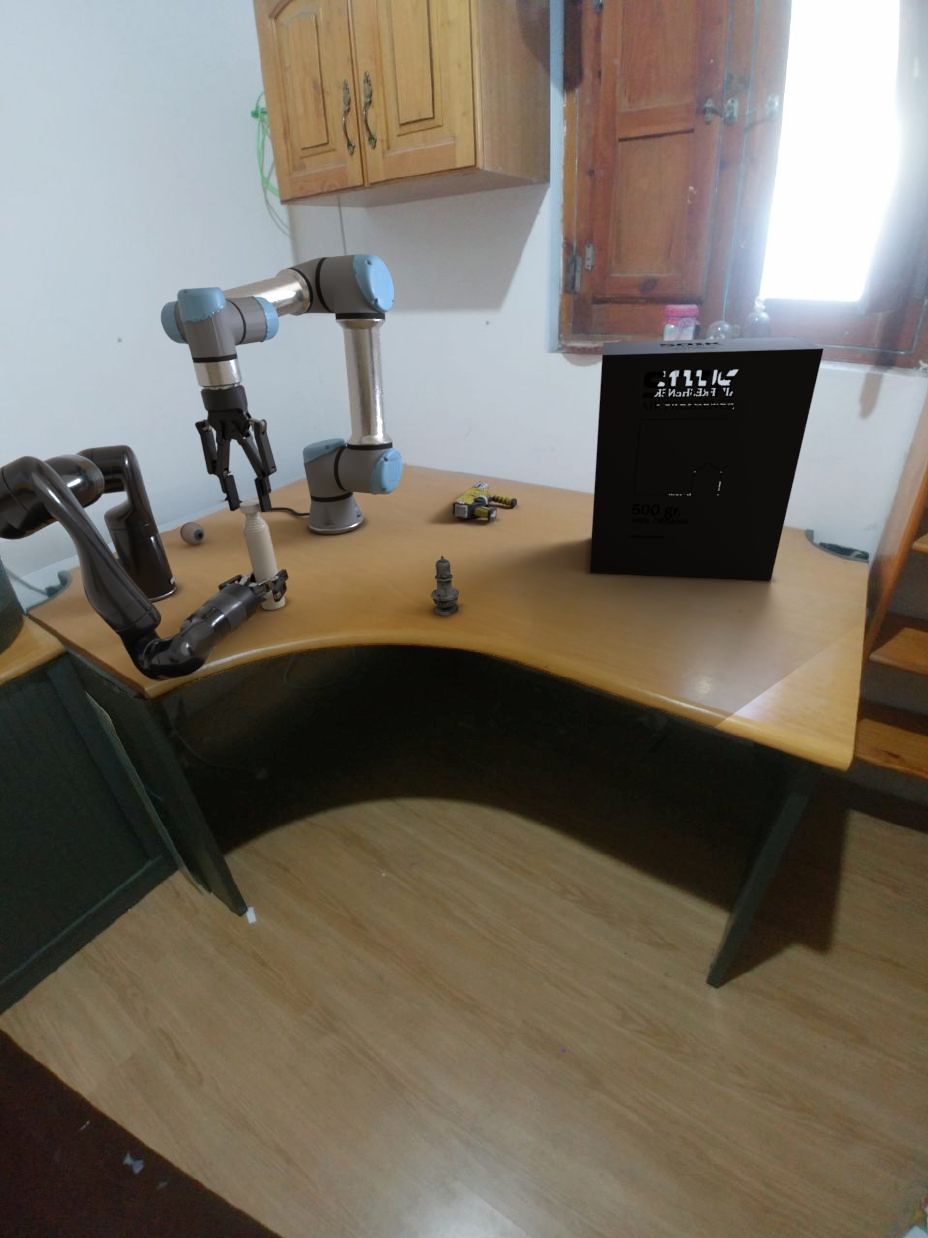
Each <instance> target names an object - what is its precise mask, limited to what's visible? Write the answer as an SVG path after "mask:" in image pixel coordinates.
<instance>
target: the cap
mask: <svg viewBox="0 0 928 1238" xmlns="http://www.w3.org/2000/svg"><path fill="white" fill-rule="evenodd" d="M239 509H240V512H241V513H242V514H244V515H245V514H249V513H255V512H258V511H259V512H260V511H261V508H260V503H259V499H249V500H244V501H242V503H240V508H239Z"/></svg>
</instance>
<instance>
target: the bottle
mask: <svg viewBox="0 0 928 1238" xmlns="http://www.w3.org/2000/svg"><path fill="white" fill-rule="evenodd" d="M244 515H245V518H244V523H243V526H242V533H243V536H244V539H245V544H246V548H247V553H248V555H249V561H250V564H251V568H252V572H254V576H255V580H256V583H257V582H259V581H261V580H263V579H270V578H272V577H274V576H275V575H276V574H277V573H278V572H280V570H279V567H278V563H277V558H276V554H275V550H274V544H273V541H272V537H271V536H272V535H271V532H270V531H271V530H270V527H269V525H268V522H266V520H265V519H264V518H263V516H261V514H260V511H258V512H255V513H249V514H245V513H244ZM271 585H272V587H273V586H275V585H274V582H273V583H272V584H271ZM264 586H265V584H264ZM265 589H266V588H265ZM286 602H287V601H286V598H285V595H284V596H283V597H282V599H281V600H280V601H279V602H274V599H267V600H266V601H264V602H262V603H260V605H261V607H262V609H263V610H268V611H274V610H278V609H280V608H282V607H284V606H285V605H286Z"/></svg>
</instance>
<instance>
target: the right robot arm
mask: <svg viewBox="0 0 928 1238" xmlns="http://www.w3.org/2000/svg"><path fill="white" fill-rule="evenodd" d="M176 296H177V297H176V298H177V299H176V300H174V301H168V302H167V303H165V305H163V307H162V308H161V312H160V322H161V325H162V329H163V331H164V334H166V336H167V337H168V338H169V339H170V340H171V341H172V342H175V343H177V344H181V345H182V344H183V345H184V344H185V345H188V349H189V352H190V356H191V359H192V360H191V361H192V364H193V368H194V372H195V376H196V377H195V378H196V381H197V384H198V386H199V387H200V388H201V390H200V395H201V399H202V404H203V407H204V410H205V411H206V412H207V416H206V419H205V418H203V419H202V420H199V421H195V423H194V426H195V428H196V430H197V432H198V435H199V438H200V443H201V448H202V452H203V458H204V462H205V468H206V472H207V474H208V475H214V476H216V477H217V478H218V481H219V485H220V488H221V491H222V493H223V494H225V498H224V501H227V504H228V508H229V511H230V512H235V511H236V510H239V509H241V508H240V503H242V502H243V500H241V499H240V496H239V492H238V488H237V483H236V480H235V476H234V474H231V473H232V471H231V470H230V459H231V458H230V456H231V442H232V440H233V441H236V442H237V444H238V445H239V446H241V449H242V450H243V453H244V454H245V456H246V458H247V460H248V462H249V464H250V466H251V467H252V470H253V472H254V474H255V475H256V477H255V478H254V479H253V481H254V485H255V490H256V494H257V500H258V501H259V503H260V508H261V510H260V511H261V513H266V512H268V511H286V512H291V513H292V514H293V515H295V516H297V517H308V521H307V522H308V523H307V524H308V528H309V529H308V530H310V531H311V532H312V533H314V534H317V535H323V536H324V535H325V536H327V535H329V536H331V535H339V534H340V535H341V534H345V533H350V532H353V531H355V530H357V529H359V528H361V527H362V526H363V525H364V523H365V519H364V514H363V512H362V508H361V505H359V504H358V501H357V500H356V498H355V495H354V493H360V494H371V495H374V496H377V495H389V494H391V493H392V492H394V491H395V490H396V489H397V487H398V486H399V483H400V481H401V479H402V475H403V469H404V461H403V456H402V455H401V452H400V451H399V450H398V449H396V448H394V446H393V438H391V437H390V436H389V434H387V426H386V412H385V394H384V379H383V364H382V361H383V360H382V347H381V345H382V344H381V331H380V330H381V327H383V325H384V324H385V323H386V313H388V312H389V311H390V310H392V308H393V306H394V301H395V289H394V283H393V279H392V275H391V272H390V270H389V269H388V268H387V266H386V264H385V262H384V261H383V259H381V258H380V257H379V256H377V255H376V254H367V253H366V254H364V253H363V254H362V253H356V254H347V255H336V256H335V255H334V256H323V257H322V256H321V257H317V258H312V259H310V260H307V261H304V262H301V263H298V264H296V265H292V266H290V267H286V268H283V269H281V270H279V271H278V272H277V273H276V275H275V276H274V277H270V278H267V279H262V280H259V281H254V282H251V283H247V284H243V285H240V286H237V287H233V288H228V289H225V290H222V288H220V287H218V286H213V287H212V286H211V287H194V288H181V289H179V290H178V292H177V294H176ZM305 314H334V315H335V316H334V317H335V322H336V324H338V325H339V326H340V327H341V329H342V331H343V332H342V333H343V345H344V357H345V369H346V379H347V380H346V381H347V392H348V393H347V394H348V404H349V415H350V417H349V418H350V428H351V430H350V431H351V434H350V436H349V437H348V438H347V439H345V438H341V437H340V438H339V437H337V438H330V439H329V438H328V439H323V440H320V441H317V442H313V443H309V444H308V445H306V446H305V447H304V448H303V450H302V457H303V458H302V460H303V467H304V472H305V477H306V482H307V486H308V492H309V498H310V507H309V512H297V511H295V510H294V509H293V508H290V507H284V506H281V507H280V506H278V507H277V506H275V507H274V506H272V502H271V497H270V494H271V493H272V487H271V481H270V476H271V475H273V474H275V473H276V472H277V471H278V468H277V464H276V462H275V458H274V454H273V449H272V447H271V443H270V439H269V436H268V432H267V431H268V422H267V420H266V419H264V418H262V419H257V418H254V417H252V415H251V414H250V412H249V408H248V406H249V402H248V398H247V394H246V393H247V392H246V389H245V386H244V385H242V384H241V383H242V382H243V376H242V372H241V367H240V366H241V365H240V363H239V356H238V352H237V346H243V345H249V344H254V343H264V342H265V341H269V340H272V339H274V338H275V336H276V335H277V333H278V332H279V328H280V319H279V318H281V317H283V316H287V315H291V316H295V317H298V316H302V315H305ZM250 428H251V430H250ZM213 430H214V431H213ZM214 432H215V434H214ZM252 432H253V435H252ZM254 440H255V441H254ZM255 443H256V444H255Z"/></svg>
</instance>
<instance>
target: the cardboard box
mask: <svg viewBox="0 0 928 1238" xmlns="http://www.w3.org/2000/svg"><path fill="white" fill-rule="evenodd" d="M601 353H602V355H601V371H600V388H599V389H600V390H599V405H598V423H597V439H596V454H595V455H596V456H595V472H594V473H595V474H594V487H593V488H594V491H593V505H592V506H593V509H592V526H591V540H590V541H591V543H590V559H589V574H614V575H637V576H638V575H641V576H660V577H663V576H664V577H686V578H708V579H709V578H710V579H730V580H731V579H733V580H735V579H736V580H754V581H755V580H756V581H757V580H758V581H772V577H773V573H774V569H775V565H776V560H777V557H778V556H777V555H778V551H779V548H780V543H781V537H782V534H783V529H784V526H785V520H786V515H787V511H788V507H789V502H790V499H791V495H792V489H793V486H794V481H795V476H796V472H797V467H798V464H799V459H800V454H801V451H802V445H803V441H804V436H805V433H806V428H807V424H808V419H809V415H810V412H811V411H810V410H811V406H812V403H813V397H814V392H815V388H816V384H817V380H818V376H819V371H820V366H821V361H822V359H823V358H822V357H823V353H824V347H821V346H818V345H816V344H813V343H811V342H808V341H805V340H804V339H801V338H798V337H796V336H771V337H769V336H768V337H766V336H765V337H737V338H708V339H707V338H706V339H679V340H678V339H675V340H673V339H672V340H649V341H648V340H645V341H617V342H616V341H615V342H614V341H613V342H603V343H602V352H601ZM736 370H737V371H736ZM677 371H678V375H677V376H676V377H675V382H674V383H675V385H672V383H673V376H671V374H672V373H674V372H677ZM685 371H689V372H690V374H689V382H691V385H687V379H688V377H687V375H685ZM699 371H701V373H700V375H698V372H699ZM715 371H716V375H715ZM733 371H736V373H734V375H729V373H730V372H733ZM714 375H715V376H716V377H715V380H714ZM719 377H720V378H719ZM700 381H701V382H705V385H700ZM713 381H715V382H714V383H713ZM719 381H729V382H728V384H725V385H724V384H720V383H719ZM660 383H663V384H664V385H660Z"/></svg>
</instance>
